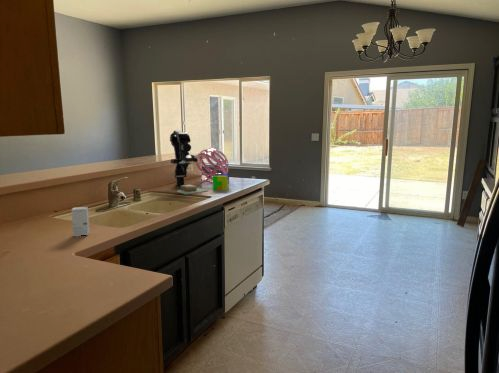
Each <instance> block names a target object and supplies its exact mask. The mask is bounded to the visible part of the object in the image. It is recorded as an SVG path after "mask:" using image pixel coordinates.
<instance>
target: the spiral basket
mask: <svg viewBox="0 0 499 373" xmlns="http://www.w3.org/2000/svg"><path fill="white" fill-rule="evenodd" d="M209 152H210V153H209ZM203 156H204V157H205V160H206V162H208V164H209V165H211V167H213V169H211V168H210V167H209V166H208V165H207V164H206V162H205V161H204V159H203ZM216 156H217V157H216ZM195 158H197V159H198V158H199V162H200V163H201V165H202V167H203V168H204V169H205V170H206V171H207V172H209V174H208V173H206V172H205V171H204V170H203V169H202V167H201V166H200V164H199V163H198V162H194V163H195V165H196V167H197V169H198V171H199V172H200V173H201V174H202V175H204V176H205V177H206V178H205V179H202V178H201V179H200V181H201V182H203V183H205V182H207V183H209V184H213V176H214V175H215V174H220V173H218V172H217V171H222V174H229V173H228V172H229V165H230V164H229V160H228V158H227V157H226V155H225V154H224V153H223V152H222V151H220V150H218V149H216V148H208V149H203V150H201V151H200V152H199V153H198V154H196V155H195ZM212 160H213V161H214V162H215V163H216V164H215V163H214V162H213V161H212ZM224 165H225V167H224ZM210 180H211V181H210Z"/></svg>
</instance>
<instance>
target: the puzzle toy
mask: <svg viewBox="0 0 499 373" xmlns="http://www.w3.org/2000/svg"><path fill="white" fill-rule="evenodd" d="M212 177H213V180H212V182H213V183H212V191H228V190H229V189H230V174H229V173H227V174H223V173H219V174H215V175H213V176H212Z"/></svg>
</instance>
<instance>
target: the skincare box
mask: <svg viewBox="0 0 499 373" xmlns="http://www.w3.org/2000/svg"><path fill="white" fill-rule="evenodd" d="M71 223H72V233H73V234H72V235H73V237H74V236H75V237H82V236H81V235H88V233H89V232H91V231H90V218H89V207H88V206H80V207H79V206H78V207H72V209H71ZM89 234H90V233H89ZM88 236H89V235H88Z"/></svg>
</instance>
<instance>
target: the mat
mask: <svg viewBox="0 0 499 373" xmlns="http://www.w3.org/2000/svg"><path fill="white" fill-rule="evenodd" d="M175 192H177V193H180V194H182V195H185V196H187V195H192V193H193V194H197V193H198V194H199V193H206V192H209V189H204V188H201V187H197V191H190V192H187V191H183V190H181V189H179V190H176V191H175Z"/></svg>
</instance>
